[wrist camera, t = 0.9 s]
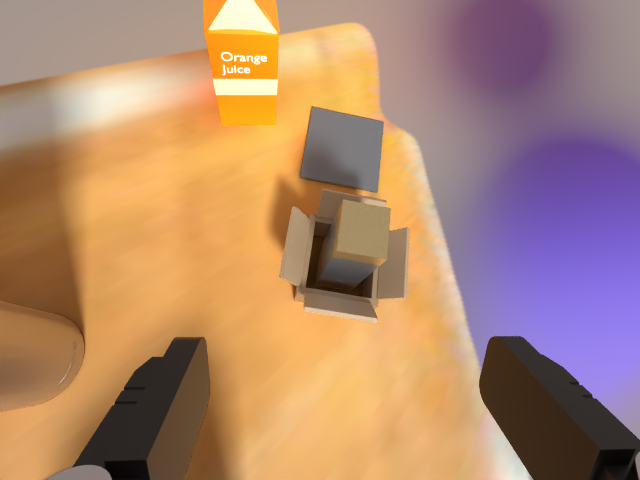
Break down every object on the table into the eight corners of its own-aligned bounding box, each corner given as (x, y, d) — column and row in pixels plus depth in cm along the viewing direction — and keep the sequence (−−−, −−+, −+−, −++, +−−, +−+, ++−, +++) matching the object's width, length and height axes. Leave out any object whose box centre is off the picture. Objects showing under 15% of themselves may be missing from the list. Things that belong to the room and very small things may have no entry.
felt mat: (299, 177, 47) (299, 176, 47) (312, 108, 52) (312, 106, 51) (376, 192, 48) (377, 191, 48) (382, 123, 53) (383, 122, 52)
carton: (272, 315, 41) (273, 305, 34) (291, 209, 46) (296, 181, 39) (382, 333, 42) (406, 327, 35) (389, 228, 47) (411, 204, 40)
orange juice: (221, 126, 48) (192, -23, 30) (218, 76, 51) (191, -88, 32) (276, 125, 50) (283, -18, 31) (271, 77, 52) (274, -81, 34)
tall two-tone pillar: (315, 285, 43) (336, 250, 30) (320, 247, 44) (343, 199, 31) (350, 290, 43) (387, 259, 30) (354, 253, 45) (390, 208, 32)
